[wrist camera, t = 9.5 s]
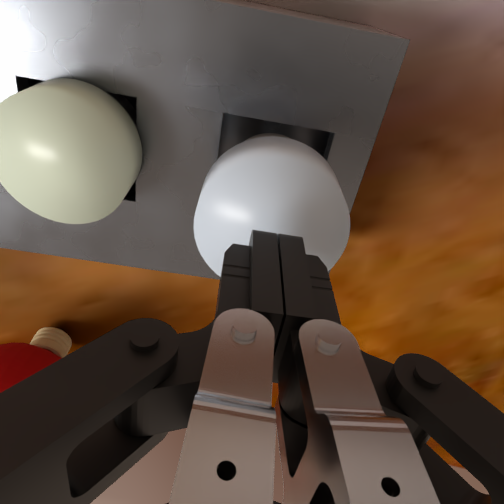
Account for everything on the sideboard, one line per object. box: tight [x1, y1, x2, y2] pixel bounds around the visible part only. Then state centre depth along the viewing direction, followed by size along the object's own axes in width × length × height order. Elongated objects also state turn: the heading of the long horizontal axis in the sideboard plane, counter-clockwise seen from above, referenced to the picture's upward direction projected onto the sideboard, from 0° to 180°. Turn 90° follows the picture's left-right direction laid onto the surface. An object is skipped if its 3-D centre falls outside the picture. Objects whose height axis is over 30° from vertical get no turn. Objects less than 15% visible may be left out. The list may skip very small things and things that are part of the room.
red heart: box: [0, 327, 72, 393], centre depth 27 cm, size 9×7×10 cm
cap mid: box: [0, 78, 142, 224], centre depth 17 cm, size 5×5×5 cm
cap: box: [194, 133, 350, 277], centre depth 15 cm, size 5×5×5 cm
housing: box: [0, 0, 410, 279], centre depth 19 cm, size 24×12×6 cm, turn 80°
